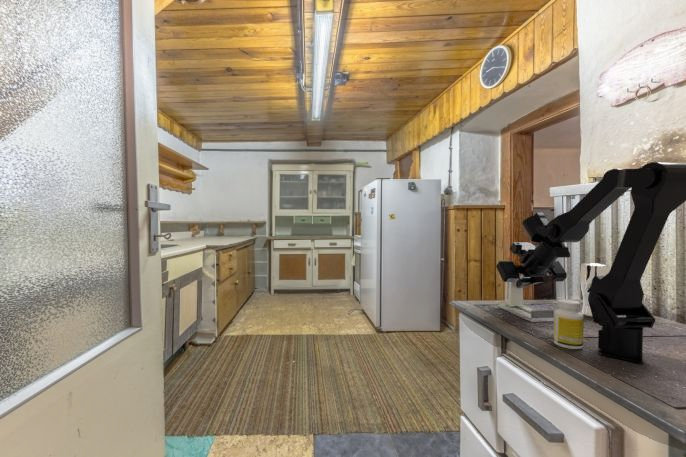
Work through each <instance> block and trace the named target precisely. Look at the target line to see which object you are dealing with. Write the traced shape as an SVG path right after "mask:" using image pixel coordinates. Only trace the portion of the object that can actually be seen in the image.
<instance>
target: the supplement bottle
mask: <svg viewBox="0 0 686 457" xmlns="http://www.w3.org/2000/svg"><path fill="white" fill-rule="evenodd" d="M557 307H558V308H557V309H555V310H553V311H554V321H553V343H554V344H555V345H556V346H558V347H561V348H564V349H569V350H581V349H583V346H584V321H585V320H584V319H585V318H584V315H583V314H582V313H581V312H582V311H581V312H580V311H579V310H580V309H581V303H580V301H577V300H573V299H572V300H571V299H565V298H564V299H558V300H557Z"/></svg>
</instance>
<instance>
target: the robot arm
mask: <svg viewBox="0 0 686 457" xmlns="http://www.w3.org/2000/svg"><path fill="white" fill-rule="evenodd" d="M628 190H630V196H631V199H632V202H633V206H634V208H633V211H632V214H631V217H630V218H629V222H628V224H627V226H626V229H625V232H624V234H623V236H622V239H621V241H620V245H618V249H617V251H616V255H615V256H614V259H613V262H612V265H611V267H610V271H609V273H608V274H606V275H605V276H594V278H593V279H592V283H591V287H590V288H589V290H587V292H590V293H589V296H588V302H589V305H590V309H591V313H592V316H593V317H592V319H593V322H594V323H595V324H598V325H599V326H600V327H598V331H597V333H598V334H597V337H598V341H597V348H598V350H600V352H599V354H600V355H602V356H606V357H610V358H615V359H617V360H618V359H619V360H623V361H628V362H633V363H637V364H644V352H643V344H644V343H643V341H644V329H645V328H646V329H647V328H648V329H652V328H653V327H654V325H655V323H656V318H655V317H654V315H653V314H652V313H651V312H650V310H648V308H647V307H646V306H645V304H644V303H643V300H644V295H645V293H644V290H643V286H642V283H641V279H642V277H643V275H644V273H645V271H646V269H647V266H648V263H649V262H650V259H651V257H652V254H653V253H654V250H655V248H656V245H657V243H658V241H659V238H660V237H661V235H662V234H661V233H662V232H663V229H664V228H665V224H666V223H667V222H668V221H667V220H668V219H669V216H670V214H672V213H673V212H674V211H675V210H677V209H678V208H679V207H681V205H683V204H684V203H685V202H686V162H661V161H660V162H659V161H654V162H653V161H651V162H648V163H646V164H644V165H642V166H640V167H638V168H612V169H609V170H607V171H606V172H605V173H604V174H603V176H602V179H601V180H599V182H598V183H596V185H594V186H593V187H592V188H591V189H590V191H588V192H587V193H586V194H585V195H584V196H583V197H582V199H580V200H579V201H578V202H577V203H576V204H575V205H574V206H573V207H572V208H571V209H570V210H568V211H567V212H566V211H565V212H564V213H561V214H558V215H557V216H555V217H554V218H552V219H551V220H550V221H548V219H547V218H546V215H545V214H544V212H535V213H534V214H533V215H531V216H529V217H527V218H526V219H523V221H522V222H521V226H522V228H523V229H524V232H525V233H526V235H527V236H528V238H529V239H530V241H531V242H533V243H538V244H537V245H536V246H535V245H534V244H533V243H531V242H529V241H528V242H525V241H524V242H521V241H515V242H513V243H511V245H510V247H509V251H510V252H511V253H512V254H513V255H517V256H518V257H519V258H518V260H519V263H520V264H519V265H518V264H517V265H516V264H515V262H514V261H512V260H499V261H498V262H497V264H496V266H495V267H496V270H497V272H498V273H499V276H500V278H501V280H502V281H503V282H504V283H505V282H515V281H517V282H516V287H517V288H523V289H524V288H526V287H530V286H533V285H538V284H544V283H545V279H544V278H545V277H548V276H552V275H553V277H552V280H553V282H564V281H565V280H566V279H567V277H568V273H567V272H566V270H565V269H564V267H563V266H562V264H561V263H560V261H559V260H557V259H558V258H561V259H562V258H566V259H567V258H570V257H571V253H570V251H569V246H566V245H565V243H579V242H581V241H582V240H583V239H584V237H585V236H586V235H587V234H588V232H589V231H590V224H592V222H593V221H594V220H595V219H597V218H598V217H599V216H600V215H601V214H602V213H603V212H604V211H605V210H607V209H608V208H609V207H610V206H611V205H612V204H614V203H615V202H616V201H617V200H618V199H619V198H621V196H623V195H624V194H625V193H626V192H628ZM620 316H621V317H620ZM624 316H625V317H624Z"/></svg>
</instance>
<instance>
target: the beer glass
mask: <svg viewBox="0 0 686 457" xmlns="http://www.w3.org/2000/svg"><path fill="white" fill-rule="evenodd" d="M610 269H611V267H610V265H609V264H603V263H593V262H591V263H590V262H582V263H581V267H580V275H579V279H580V289H581V294H582V302H583V303H582V308H581V313H582V314H583V316H587V317H591V318H593V316H592V313H591V309H590V305H589V302H588V296H589V293H590V292H587V290H589V288H590V287H591V283H592V279H593V278H594V276H605V275H606V274H608V273H609V271H610Z"/></svg>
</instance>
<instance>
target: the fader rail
mask: <svg viewBox="0 0 686 457" xmlns="http://www.w3.org/2000/svg"><path fill="white" fill-rule="evenodd" d="M498 308H500V309H502V310H505V311H506V312H508V313H511V314H513V315H515V316H518V317H520V318H522V319H524V320H527V321H528V322H530V323H541V322H543V323H545V322H554V311H555V310H553V309H535V308H532V307H529V306H527V305H525V304H523V306H509V305H507V304H505V303H498Z"/></svg>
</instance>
